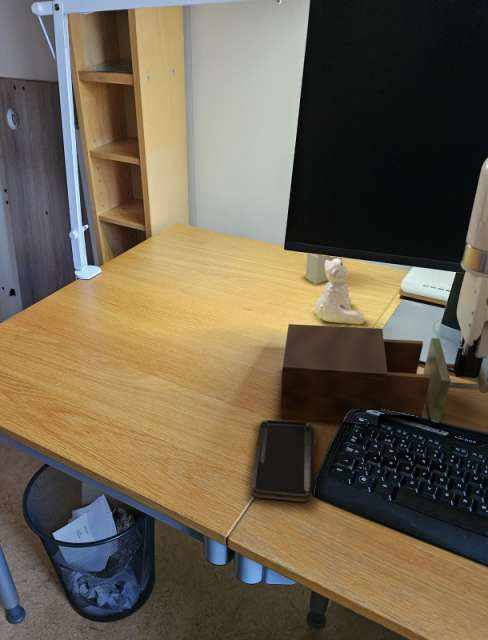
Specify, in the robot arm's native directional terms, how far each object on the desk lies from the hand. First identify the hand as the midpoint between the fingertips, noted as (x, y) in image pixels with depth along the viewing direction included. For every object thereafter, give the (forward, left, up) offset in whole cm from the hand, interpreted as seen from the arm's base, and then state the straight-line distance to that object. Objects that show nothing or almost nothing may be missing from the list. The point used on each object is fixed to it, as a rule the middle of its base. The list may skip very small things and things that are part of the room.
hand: (465, 374), depth 82 cm
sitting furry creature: (+18, -27, -6) cm, 33 cm away
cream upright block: (+21, -45, -6) cm, 50 cm away
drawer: (+7, 0, -5) cm, 9 cm away
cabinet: (+19, 0, -6) cm, 20 cm away
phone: (+25, +16, -6) cm, 30 cm away
